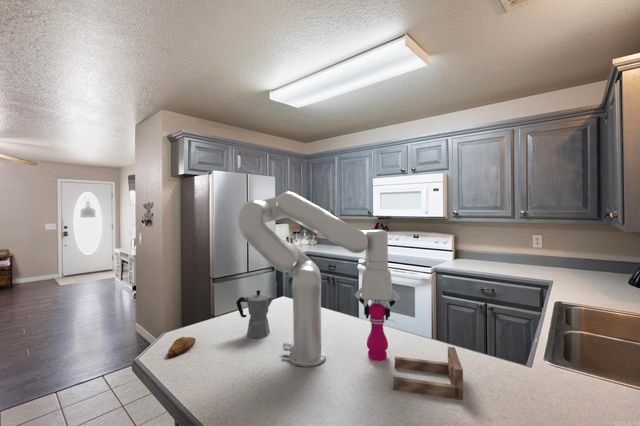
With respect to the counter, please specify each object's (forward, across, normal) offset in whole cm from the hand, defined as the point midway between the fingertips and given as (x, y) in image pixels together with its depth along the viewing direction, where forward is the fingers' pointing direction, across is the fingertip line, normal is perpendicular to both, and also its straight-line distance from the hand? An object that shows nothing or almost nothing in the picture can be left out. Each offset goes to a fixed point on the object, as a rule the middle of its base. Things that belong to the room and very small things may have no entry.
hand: (377, 317), depth 104 cm
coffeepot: (+14, -50, +7) cm, 52 cm away
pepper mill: (+14, 0, 0) cm, 14 cm away
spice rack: (+14, +15, -12) cm, 23 cm away
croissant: (+14, -69, -13) cm, 72 cm away
